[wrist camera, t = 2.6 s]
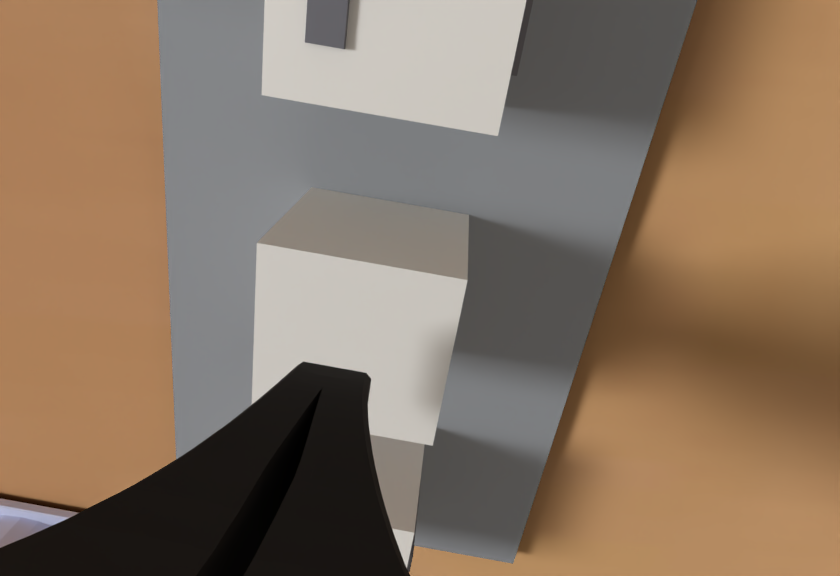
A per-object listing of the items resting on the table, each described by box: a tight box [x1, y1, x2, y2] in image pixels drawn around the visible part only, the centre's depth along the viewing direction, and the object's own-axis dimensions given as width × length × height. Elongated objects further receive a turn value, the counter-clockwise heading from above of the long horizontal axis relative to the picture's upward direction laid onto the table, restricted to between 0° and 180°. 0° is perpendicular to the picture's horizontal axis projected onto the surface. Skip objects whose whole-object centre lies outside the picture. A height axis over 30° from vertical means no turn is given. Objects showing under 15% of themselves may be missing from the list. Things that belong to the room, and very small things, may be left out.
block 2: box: [370, 435, 425, 572], centre depth 18 cm, size 4×5×5 cm
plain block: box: [252, 187, 469, 446], centre depth 15 cm, size 4×4×4 cm
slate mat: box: [157, 0, 697, 563], centre depth 17 cm, size 22×13×1 cm, turn 171°
